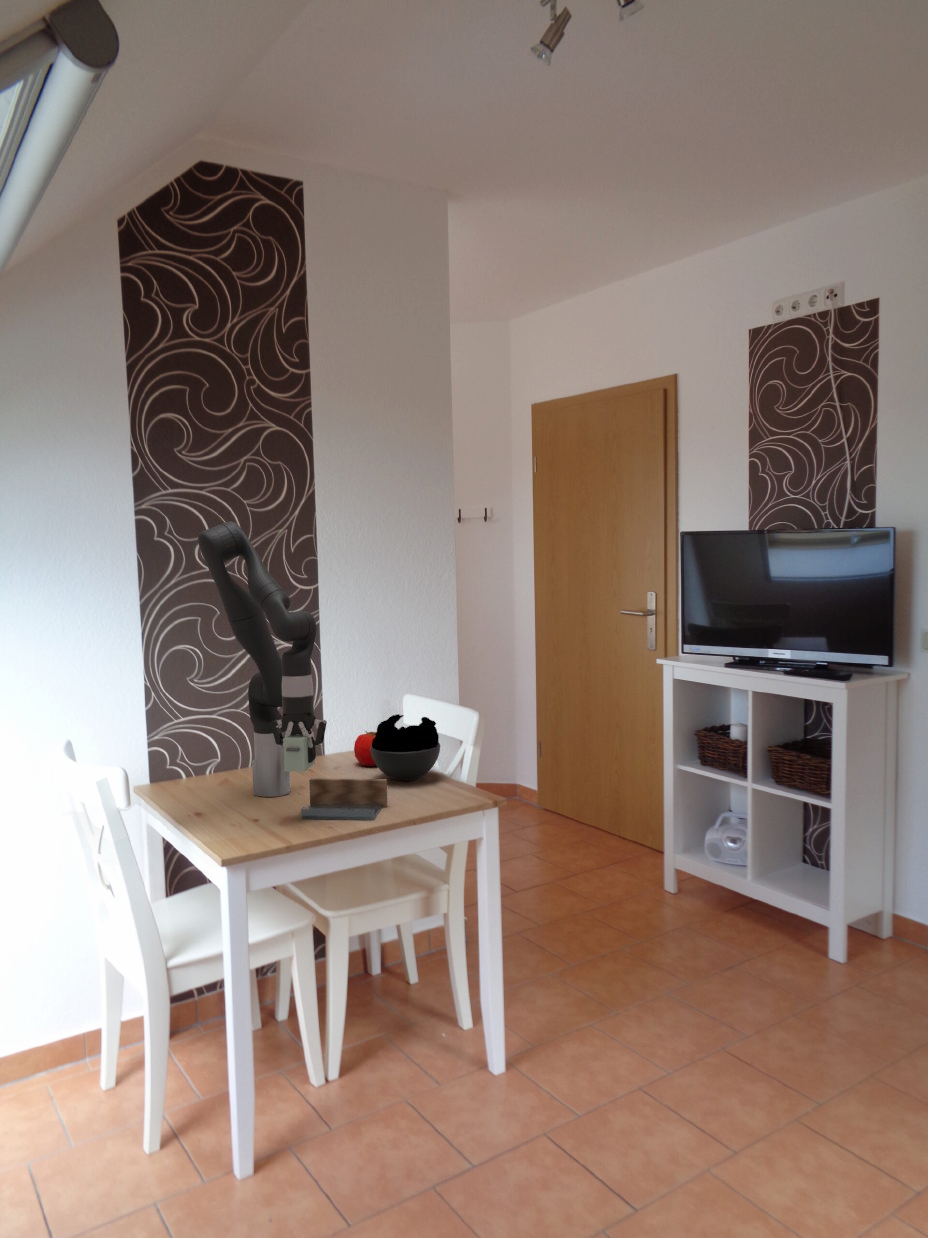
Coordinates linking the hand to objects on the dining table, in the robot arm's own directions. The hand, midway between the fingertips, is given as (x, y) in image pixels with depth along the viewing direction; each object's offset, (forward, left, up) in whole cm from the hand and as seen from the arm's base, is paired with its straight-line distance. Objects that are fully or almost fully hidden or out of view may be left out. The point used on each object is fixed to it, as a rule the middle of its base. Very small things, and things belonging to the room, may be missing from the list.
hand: (300, 761), depth 222 cm
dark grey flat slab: (+9, +5, -14) cm, 18 cm away
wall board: (+9, +11, -14) cm, 20 cm away
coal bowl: (+19, +39, -14) cm, 46 cm away
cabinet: (0, 0, -1) cm, 1 cm away
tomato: (+5, +57, -14) cm, 59 cm away
